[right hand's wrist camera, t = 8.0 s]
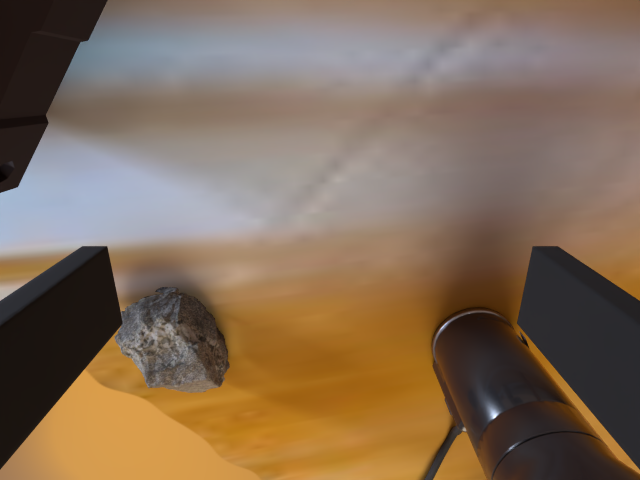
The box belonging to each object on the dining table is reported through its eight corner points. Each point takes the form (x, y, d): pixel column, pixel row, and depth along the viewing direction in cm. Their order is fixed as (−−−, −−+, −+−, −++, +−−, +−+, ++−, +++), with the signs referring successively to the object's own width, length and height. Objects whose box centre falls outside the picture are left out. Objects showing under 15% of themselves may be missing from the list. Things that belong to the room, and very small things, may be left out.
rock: (116, 316, 45) (85, 351, 39) (163, 266, 43) (139, 295, 37) (208, 383, 48) (194, 425, 42) (256, 340, 46) (248, 378, 40)
